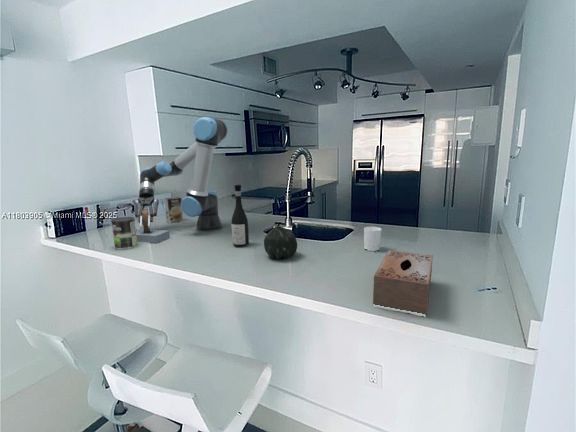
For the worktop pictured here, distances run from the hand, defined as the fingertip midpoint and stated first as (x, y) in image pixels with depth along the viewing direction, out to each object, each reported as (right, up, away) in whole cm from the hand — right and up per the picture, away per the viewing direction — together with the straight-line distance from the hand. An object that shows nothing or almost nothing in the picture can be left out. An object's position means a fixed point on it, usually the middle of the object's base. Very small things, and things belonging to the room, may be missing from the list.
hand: (145, 227), depth 161 cm
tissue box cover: (+112, -19, -62) cm, 129 cm away
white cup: (+113, -10, -18) cm, 115 cm away
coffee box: (-2, +2, +48) cm, 48 cm away
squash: (+71, -12, -25) cm, 77 cm away
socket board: (0, -7, +5) cm, 9 cm away
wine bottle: (+51, -9, -8) cm, 52 cm away
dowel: (-1, -3, +4) cm, 5 cm away
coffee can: (-6, -10, -6) cm, 13 cm away
